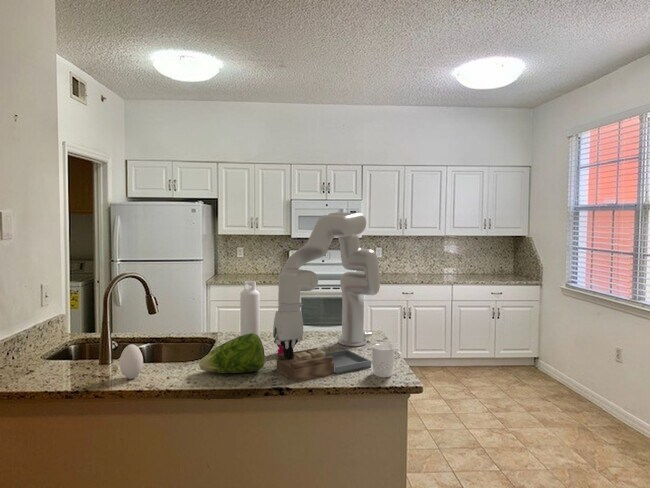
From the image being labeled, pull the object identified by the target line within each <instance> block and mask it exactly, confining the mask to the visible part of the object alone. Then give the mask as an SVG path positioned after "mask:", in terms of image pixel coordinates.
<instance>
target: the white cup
mask: <svg viewBox="0 0 650 488" xmlns="http://www.w3.org/2000/svg"><path fill="white" fill-rule="evenodd" d="M371 351H372V352H371V353H372V355H371V356H372V357H371V358H372V368H373V369H372V372H373V375H374V376H375V377H377V378H378V377H379V378H389V377H392V376H393V371H394V370H393V368H394V361H395V346H394V345H392V344H390V343H389V344H388V343H375V344H373V345H371Z"/></svg>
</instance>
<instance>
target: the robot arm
mask: <svg viewBox="0 0 650 488" xmlns="http://www.w3.org/2000/svg"><path fill="white" fill-rule="evenodd" d="M366 227H367V219H366V217H365V215H364V214H363V213H361V212H345V211H344V212H330V213H328V214H326V215H325V214H324V215H322V216H320V217H319V218H318V219H317V221H316V223H315V225H314V227H313V229H312V231H311V233H310V235H309V237H308V239H307V241H306V243H305V244H304V245H303V246H301V247H300V248H298V249H297V250H296V251H295V252H294V253H292V254H291V255H290V256H289V257H288V258H287V260H286V262H285V263H284V265H283V268H282V269H281V272H280V273H279V275H278V292H277V293H278V295H277V296H278V299H277V300H278V303H277V304H278V305H277V307H278V310H276V311H275V313H274V319H273V325H272V326H273V327H272V329H273V330H272V337H273V338H274V339H273V340H274V341H273V343H274V344H275V345H277V344H279V345H282V347H284V358H285V359H287V360H292V356H293V352H294V348H295V347H296V345H297V343H300V342H301V341H303V336H304V319H303V314H302V310H301V308H303V306H304V303H302V302H301V292H311V291H314V290H315V289H316V288H317V287H318V284H319V276H318V275H317V274H316V272H314V271H312V270H307V269H300V268H301V267H302V266H303V265H306V264H307V263H309V262H312V261H316V260H317V259H321V258H323V257H324V256H326V255H327V253H328V251H329V248H330V246H331V244H332V242H333V239H334V238H337V239H338V243H339V249H340V258H341V259H340V260H341V264H342V268H344V269H345V270H349V271H346V272H344V273H343V274H342V275H341V277H340V280H339V281H340V289H341V298H342V299H341V300H342V301H341V302H342V306H341V307H342V312H341V315H342V316H341V337H340V338H338V341H337V342H338V343H339V345H343V346H347V347H361V346H365V345H367V343H368V342H367V341H368V340H367V339H366V338H369V337H372V336H373V332H372V331H371V332H367V331H364V327H365V326H364V322H365V320H364V317H365V316H364V315H365V313H364V312H365V304H364V300H363V298H362V296H375V295H377V294H378V293H379V291H380V287H381V279H380V278H381V277H380V268H379V266H380V265H379V258H378V255H377V252H375V251H374V250H373V249H370V248H369V249H368V248H361V245H360V244H361V243H360V238H359V235H360V234H362V233H363V232H364V231H365V229H366ZM361 295H362V296H361ZM288 340H289V343H288Z"/></svg>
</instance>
